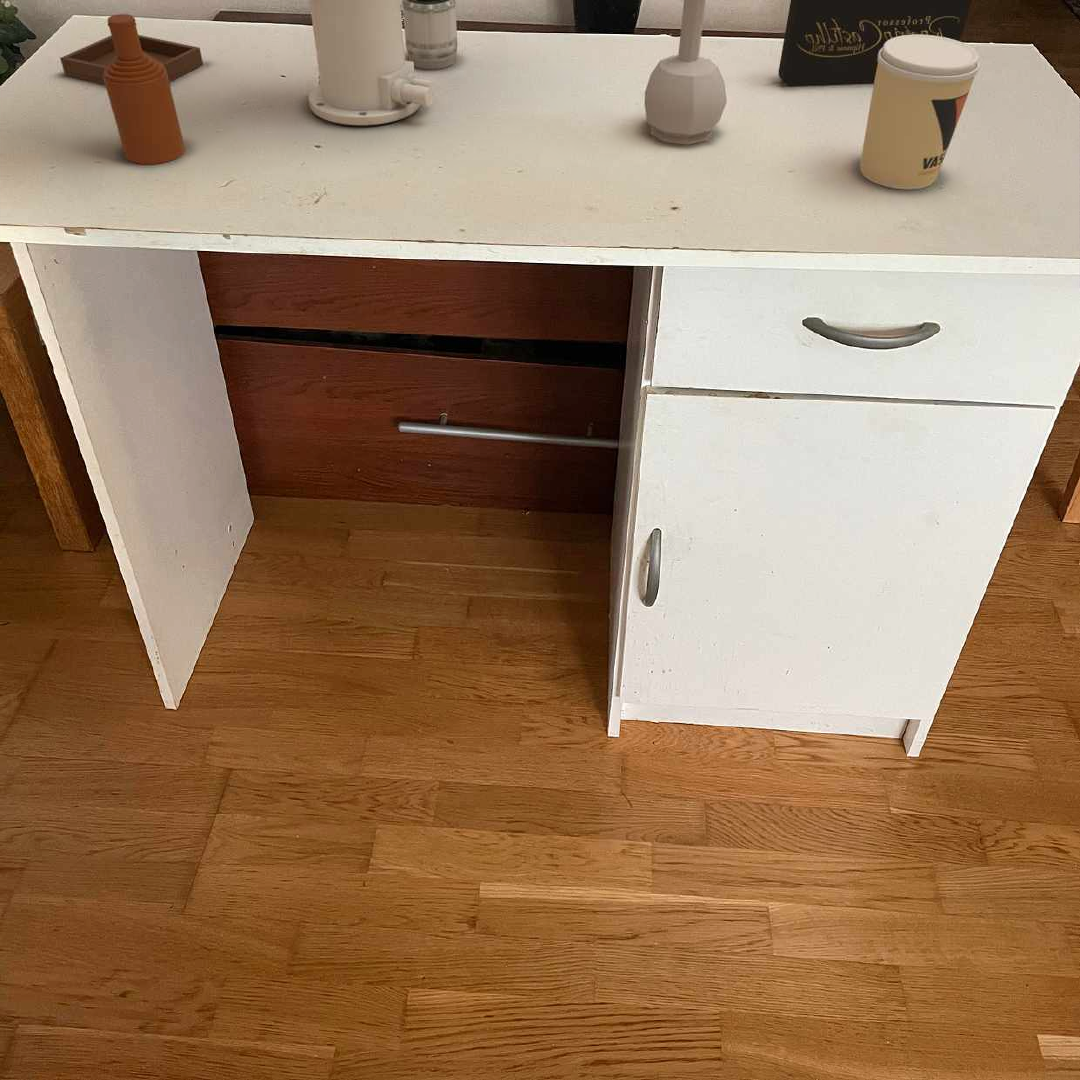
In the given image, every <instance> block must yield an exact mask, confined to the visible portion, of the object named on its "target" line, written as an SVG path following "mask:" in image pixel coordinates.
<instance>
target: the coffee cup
mask: <svg viewBox="0 0 1080 1080" xmlns="http://www.w3.org/2000/svg"><path fill="white" fill-rule="evenodd" d="M877 60H878V66H877V71H876V76H875V81H874V83H873V86H872V94H871V99H870V104H869V110H868V115H867V120H866V121H867V122H866V127H865V133H864V140H863V144H862V145H863V146H862V151H861V156H860V157H861V158H860V164H859V170H860V173H861V174H862V176H863V177H864V178H865V179H867V180H868V181H870V182H872V183H874V184H876V185H879V186H882V187H885V188H890V189H896V190H906V191H907V190H910V191H911V190H920V189H925V188H927V187H930V186H931V185H933V183H935V181H936V180H937V178H938V175H939V172H940V170H941V169H942V165H943V162H944V160H945V157H946V155H947V152H948V149H949V147H950V144H951V142H952V139H953V136H954V134H955V131H956V129H957V126H958V123H959V120H960V118H961V115H962V112H963V110H964V107H965V104H966V102H967V99H968V96H969V93H970V92H971V91H970V90H971V87H972V85H973V82H974V79H975V76H977V74H978V73H979V70H980V65H981V64H980V56H979V53H978V51H977V50H976V49H975V48H974V47H972V46H971V45H968V44H967V43H964V42H962V41H961V40H960V41H957V40H953V39H949V38H945V37H940V36H933V35H903V36H898V37H894V38H891V39H890V40H888V41H887V42H886V43H885V44H884V45H883V48H881V49H880V51H879V53H878V59H877Z"/></svg>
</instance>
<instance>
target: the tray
mask: <svg viewBox="0 0 1080 1080" xmlns="http://www.w3.org/2000/svg"><path fill="white" fill-rule="evenodd" d="M138 36H139V40H140V44H141V48H142V52H144V53H146V54H147V55H149V56H151V57H152V58H154V59H156V60H157V61H159V62H161V63H162V65H163V66H164V67H165V68H166V71H167V75H168V79H169V83H171V82H172V81H175V80H177V79H178V78H181V77H183V76H184V75H187V74H188V73H190V72H192V71H194V70H196V69H198V68H200V67H202V66H204V62H203V56H202V53H201V48H200V47H198V46H194V45H188V44H184V43H179V42H174V41H171V40H165V39H161V38H155V37H151V36H150V37H149V36H146V35H140V34H138ZM116 55H117V54H116V50H115V46H114V43H113V39H112V35H111V34H110V35H109V36H107V37H104V38H102V39H100V40H98V41H95V42H93V43H91V44H89V45H86V46H84V47H81V48H80V49H77V50H75V51H73V52H71V53H68V54H66V55H64V56H61V57H60V62H61V66H62V70H63V72H64V76H66V77H71V78H75V79H79V80H83V81H88V82H92V83H97V84H100V85H105V82H104V79H103V74H104V69H105V68H106V67H107V66H108V64H109V63H110V62H111V60H112V59H114V57H115V56H116Z"/></svg>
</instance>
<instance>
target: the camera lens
mask: <svg viewBox="0 0 1080 1080" xmlns="http://www.w3.org/2000/svg"><path fill="white" fill-rule="evenodd" d="M401 3H402V15H403V17H402V18H403V27H404V39H405V47H406V52H407V56H408V59H409V60H408V61H411V62H414V68H417V69H422V70H441V69H446V68H449V67H451V66H453V65H454V64H455V62H456V59H457V53H458V29H457V28H458V27H457V26H458V25H457V8H456V7H457V6H456V5H457V4H456V0H402V1H401Z"/></svg>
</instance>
